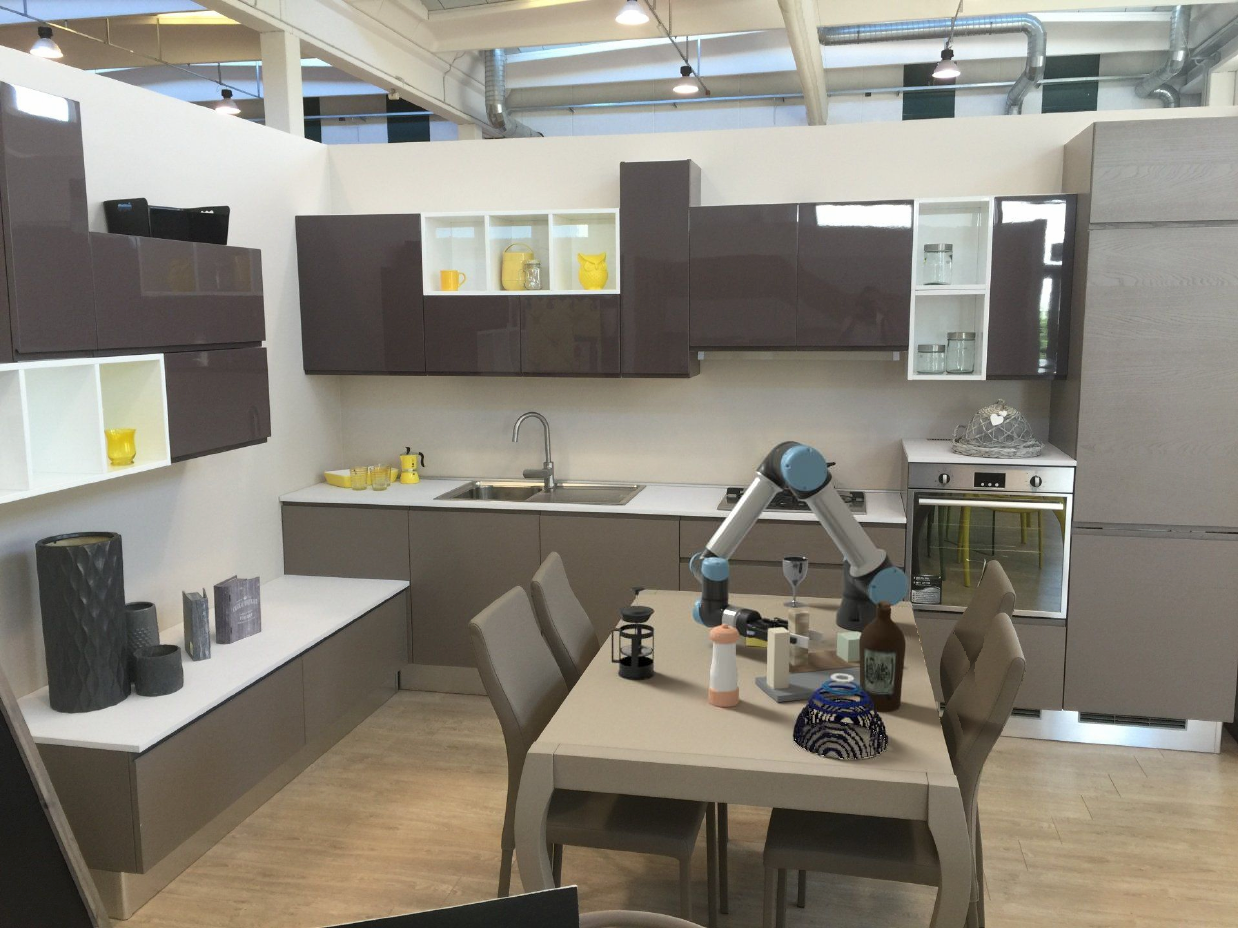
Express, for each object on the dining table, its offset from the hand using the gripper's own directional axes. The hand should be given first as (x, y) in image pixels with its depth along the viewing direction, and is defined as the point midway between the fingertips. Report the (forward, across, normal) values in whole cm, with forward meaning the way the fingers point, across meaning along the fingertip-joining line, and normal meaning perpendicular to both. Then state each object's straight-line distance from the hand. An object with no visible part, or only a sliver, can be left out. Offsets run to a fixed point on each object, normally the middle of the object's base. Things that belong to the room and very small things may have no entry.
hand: (815, 640), depth 259 cm
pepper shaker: (-5, +31, -9) cm, 33 cm away
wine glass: (-40, -50, -9) cm, 65 cm away
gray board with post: (+7, +7, -9) cm, 13 cm away
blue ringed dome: (+27, +31, -9) cm, 42 cm away
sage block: (+3, -14, -7) cm, 16 cm away
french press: (-33, +32, -9) cm, 47 cm away
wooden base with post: (+1, -10, -9) cm, 14 cm away
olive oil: (+23, +7, -9) cm, 25 cm away
